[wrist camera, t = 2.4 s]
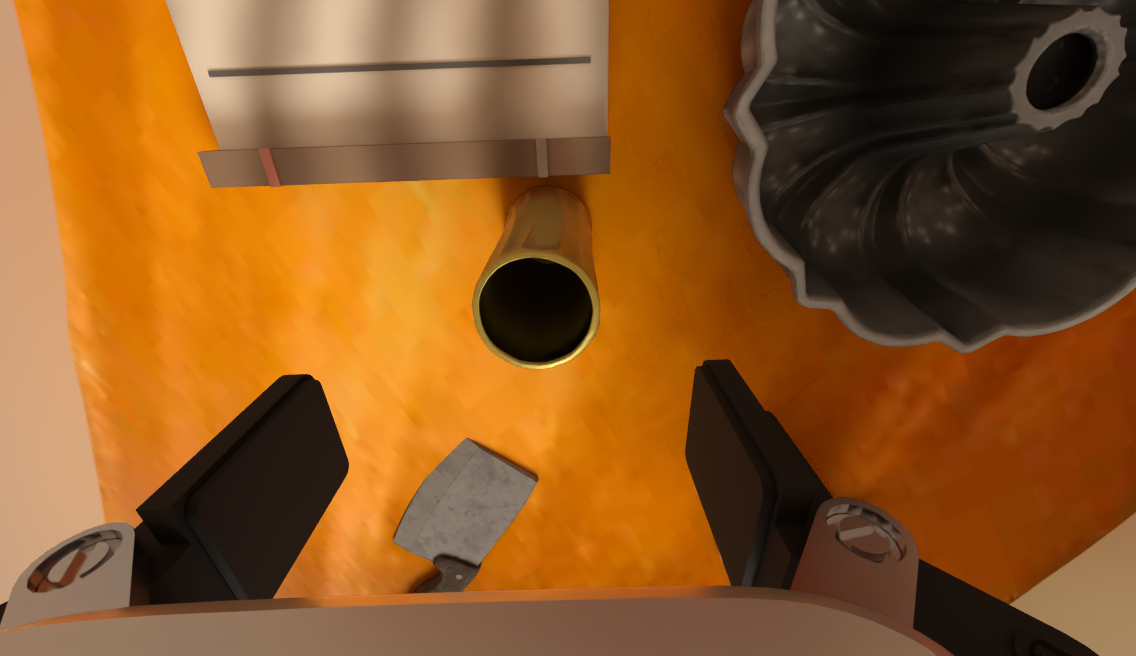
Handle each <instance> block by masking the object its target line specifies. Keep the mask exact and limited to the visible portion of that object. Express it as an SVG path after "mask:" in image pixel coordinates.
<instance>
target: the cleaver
mask: <svg viewBox="0 0 1136 656" xmlns="http://www.w3.org/2000/svg"><path fill="white" fill-rule="evenodd" d="M538 480H539V479H538V477H537V476H535V475H533V474H531V473H530V472H528V471H526V470H524V469H522V468H521V467H519V466H517V465H515V464H513V463H512V462H510V461H508V460H506V459H504V458H503V457H501V456H499V455H497V454H495V453H493V452H492V451H490V450H488V449H486V448H484V447H483V446H481V445H479V444H477V443H475V442H474V441H472V440H470V439H468V438H465V439H464V440H463V441H462V442H461V443H460V444H459V445H458V446H457V447H456V448H455V449H454V450H453V451H452V452H451V453H450V454H449V455H448V456H447V457H446V458H445V459H444V460H443V461H442V462H441V463H440V464H439V465H438V466H437V467H436V468H435V469H434V470H433V471H432V472H431V473H430V474H429V475H428V477H427V478H426V479H425V480H424V482H423V483H422V485H421V486H420V488H419V489H418V491H417V492H416V494H415V496H414V498H413V499H412V501H411V503H410V505H409V507H408V509H407V510H406V512H405V514H404V516H403V519H402V521H401V523H400V525H399V528H398V530H397V533H396V535H395V537H394V540H393V542H394V543H395V544H397V545H399V546H400V547H402V548H404V549H405V550H407V551H409V552H410V553H413V554H415V555H418V556H420V557H423V558H425V559H428V560H431V561H433V564H434V566H435V567H436V568H437V569H439V570H440V571H441V573H440V574H439V575H437V576H436V577H434V578H432V579H431V580H429V581H427V582H425V583H424V584H422V585H421V586H420V587H418V589H417V590H416V591H415V593H443V592H462V591H463V590H464V589H465V588H466V587H467V586H468V584H469V583H470V582H471V581H472V580H473V579H474V577H475V576H476V575H477V573H478V572H479V570H480V567H481V561H482V560H483V558H484V557H485V556H486V555H487V553H488V552H489V551H490V550H491V548H492V547H493V546H494V544H495V543H496V542H497V541H498V539H499V538H500V537H501V536H502V534H503V533H504V532H505V531H506V529H507V528H508V527H509V525H510V524H511V523H512V522H513V520H514V519H515V518H516V516H517V515H518V513H519V512H520V511H521V509H522V508H523V506H524V505H525V503H526V501H527V500H528V498H529V496H530V495H531V493H532V491H533V489H534V488H535V486H536V484H537V482H538Z"/></svg>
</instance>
